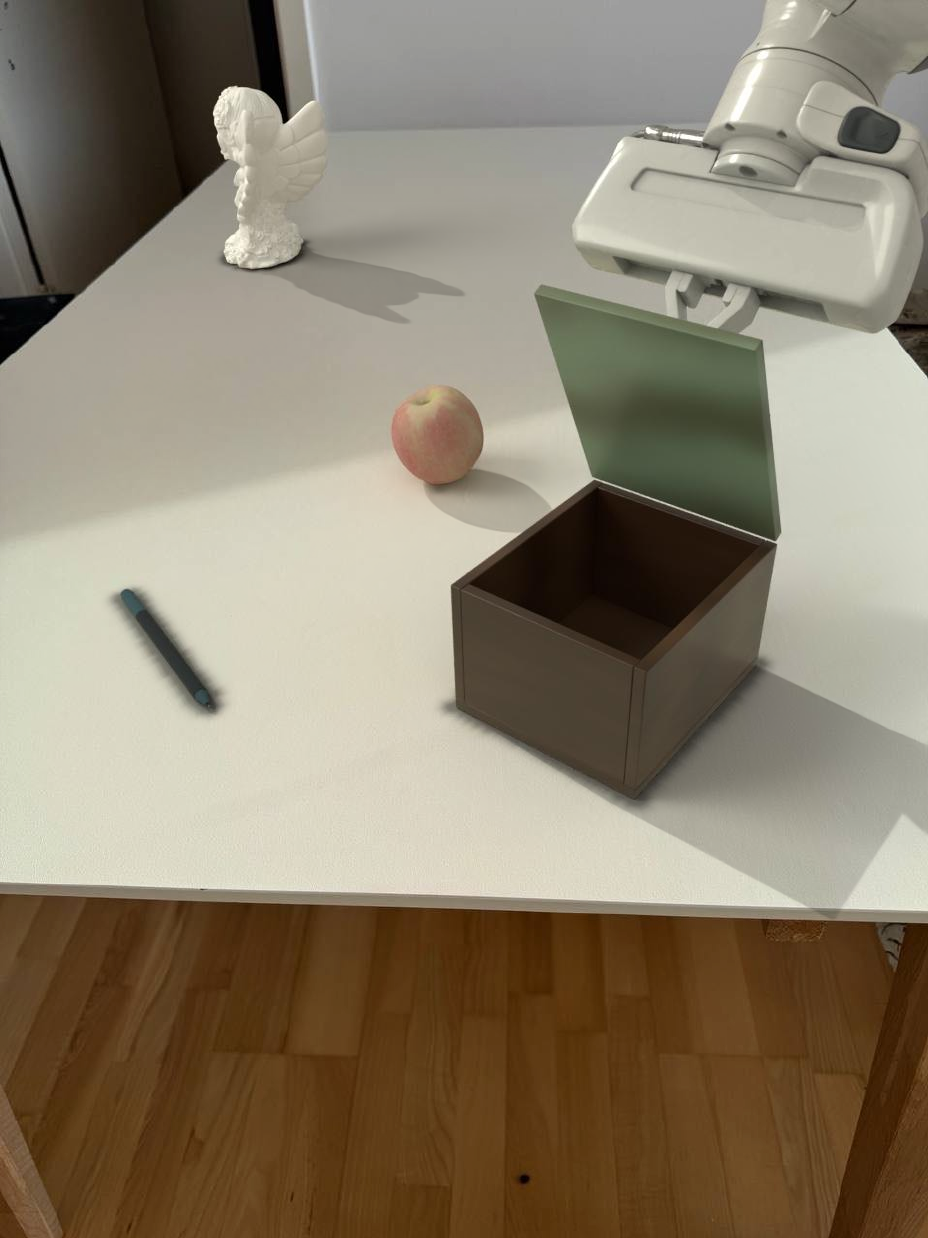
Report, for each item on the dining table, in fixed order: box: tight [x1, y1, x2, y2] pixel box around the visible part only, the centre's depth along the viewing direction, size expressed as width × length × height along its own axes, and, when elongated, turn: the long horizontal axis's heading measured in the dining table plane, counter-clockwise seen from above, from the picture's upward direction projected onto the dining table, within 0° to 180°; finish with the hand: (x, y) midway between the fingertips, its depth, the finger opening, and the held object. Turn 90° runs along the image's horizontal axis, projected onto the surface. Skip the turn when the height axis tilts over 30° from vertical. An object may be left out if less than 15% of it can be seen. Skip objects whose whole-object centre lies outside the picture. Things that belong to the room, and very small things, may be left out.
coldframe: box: [450, 479, 778, 800], centre depth 70 cm, size 16×14×10 cm
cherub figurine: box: [212, 85, 330, 270], centre depth 137 cm, size 13×12×20 cm
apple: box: [390, 384, 485, 485], centre depth 93 cm, size 8×8×8 cm
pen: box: [120, 588, 211, 708], centre depth 77 cm, size 1×16×1 cm, turn 34°
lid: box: [533, 284, 782, 542], centre depth 65 cm, size 17×14×1 cm
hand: (682, 359), depth 64 cm, fingers closed
